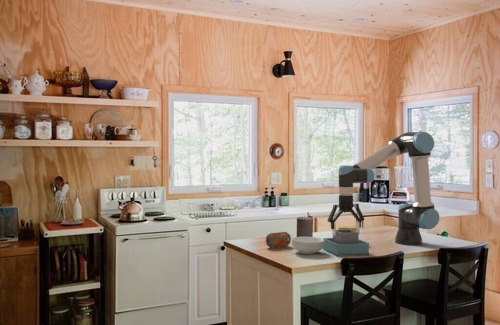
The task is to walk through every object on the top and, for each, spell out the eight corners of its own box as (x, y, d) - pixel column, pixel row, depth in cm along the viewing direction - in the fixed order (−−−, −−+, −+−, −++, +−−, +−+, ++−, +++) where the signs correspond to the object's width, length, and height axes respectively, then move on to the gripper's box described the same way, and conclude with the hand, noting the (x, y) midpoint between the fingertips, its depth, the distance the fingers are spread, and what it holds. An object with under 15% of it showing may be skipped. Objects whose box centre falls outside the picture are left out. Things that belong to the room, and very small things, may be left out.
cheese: (356, 246, 273) (356, 228, 273) (337, 245, 275) (337, 227, 275) (356, 242, 283) (356, 225, 283) (337, 241, 286) (337, 224, 285)
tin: (267, 248, 263) (267, 233, 263) (264, 247, 266) (264, 232, 266) (291, 246, 270) (291, 231, 270) (288, 245, 273) (288, 230, 273)
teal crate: (353, 247, 267) (353, 237, 267) (368, 254, 250) (368, 243, 250) (322, 249, 263) (322, 238, 263) (336, 256, 245) (336, 244, 245)
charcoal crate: (349, 247, 262) (350, 229, 262) (358, 251, 253) (358, 232, 252) (332, 248, 260) (332, 230, 260) (340, 252, 250) (340, 233, 250)
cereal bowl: (301, 257, 243) (301, 243, 243) (286, 250, 258) (286, 237, 258) (330, 254, 250) (330, 240, 250) (313, 248, 265) (313, 235, 265)
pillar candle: (293, 241, 286) (293, 215, 286) (302, 238, 294) (302, 214, 293) (306, 243, 280) (307, 217, 279) (315, 240, 288) (316, 215, 287)
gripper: (364, 193, 262) (364, 232, 263) (321, 194, 256) (321, 234, 257) (370, 194, 255) (370, 234, 256) (326, 196, 249) (327, 237, 249)
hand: (346, 234), depth 256 cm, fingers open, 13 cm apart
